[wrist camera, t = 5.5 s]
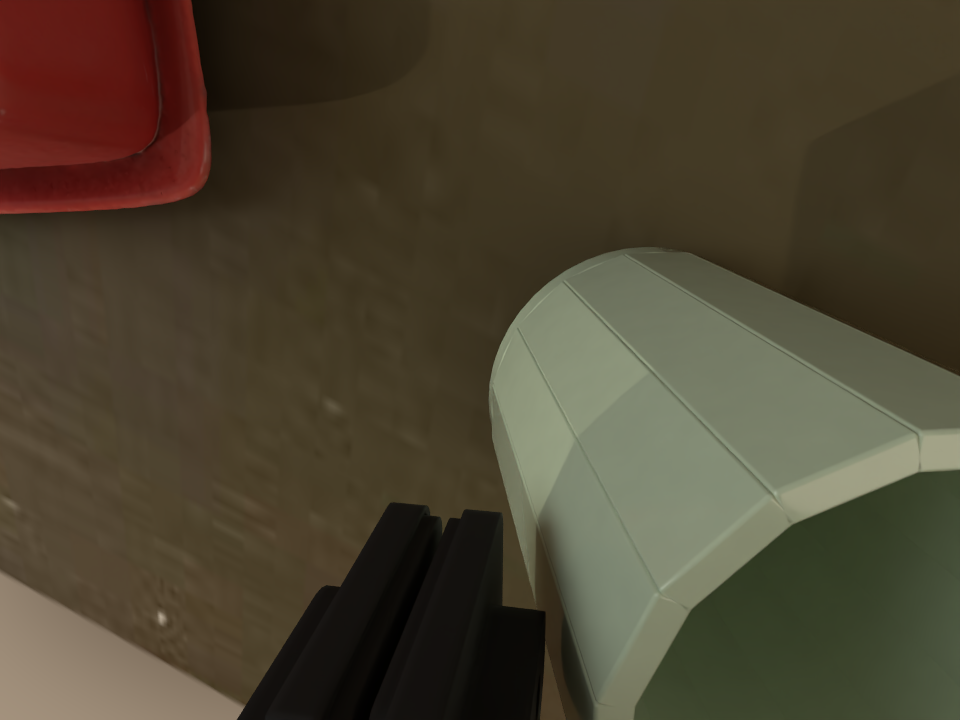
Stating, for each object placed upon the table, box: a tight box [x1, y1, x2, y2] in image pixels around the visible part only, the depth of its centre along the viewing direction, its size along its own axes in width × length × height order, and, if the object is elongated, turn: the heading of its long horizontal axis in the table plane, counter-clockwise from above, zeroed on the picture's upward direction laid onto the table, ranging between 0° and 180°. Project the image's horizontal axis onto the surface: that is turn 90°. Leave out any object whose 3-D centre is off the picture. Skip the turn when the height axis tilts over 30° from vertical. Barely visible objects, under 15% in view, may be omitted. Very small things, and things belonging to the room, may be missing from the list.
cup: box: [489, 247, 960, 720], centre depth 12 cm, size 7×7×10 cm
